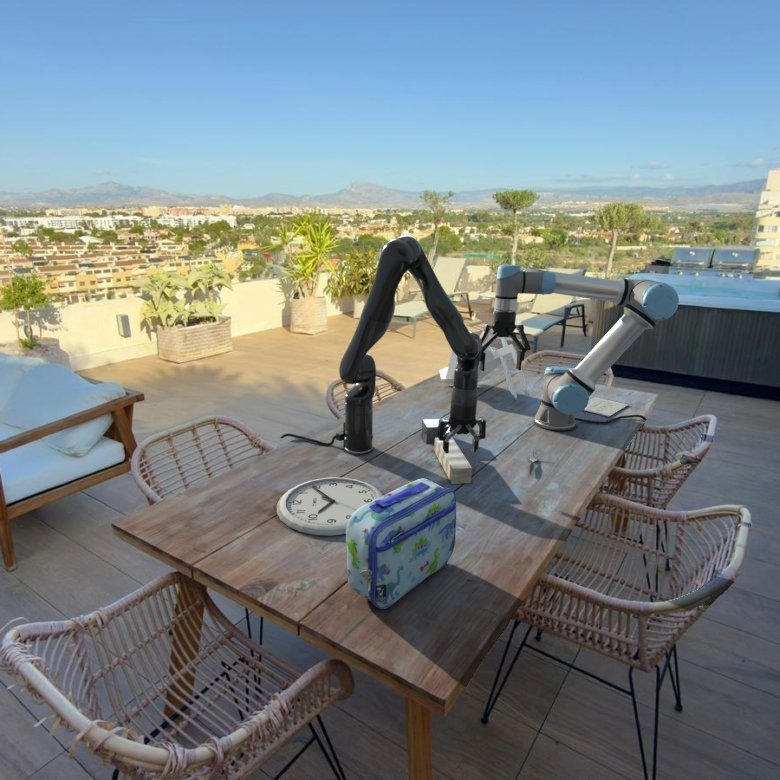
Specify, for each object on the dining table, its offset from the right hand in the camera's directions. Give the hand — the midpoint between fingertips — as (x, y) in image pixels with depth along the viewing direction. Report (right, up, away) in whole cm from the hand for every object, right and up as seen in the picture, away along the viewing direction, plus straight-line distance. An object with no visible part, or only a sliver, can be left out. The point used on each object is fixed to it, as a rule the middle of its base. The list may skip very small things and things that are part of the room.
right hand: (500, 369), depth 187 cm
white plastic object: (+2, -8, +56) cm, 57 cm away
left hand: (-18, -26, -30) cm, 44 cm away
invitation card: (+52, -15, +39) cm, 67 cm away
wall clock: (-55, -39, -44) cm, 81 cm away
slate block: (-23, -25, +2) cm, 34 cm away
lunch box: (-37, -48, -74) cm, 96 cm away
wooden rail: (-20, -32, -19) cm, 42 cm away
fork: (+6, -32, -18) cm, 37 cm away
